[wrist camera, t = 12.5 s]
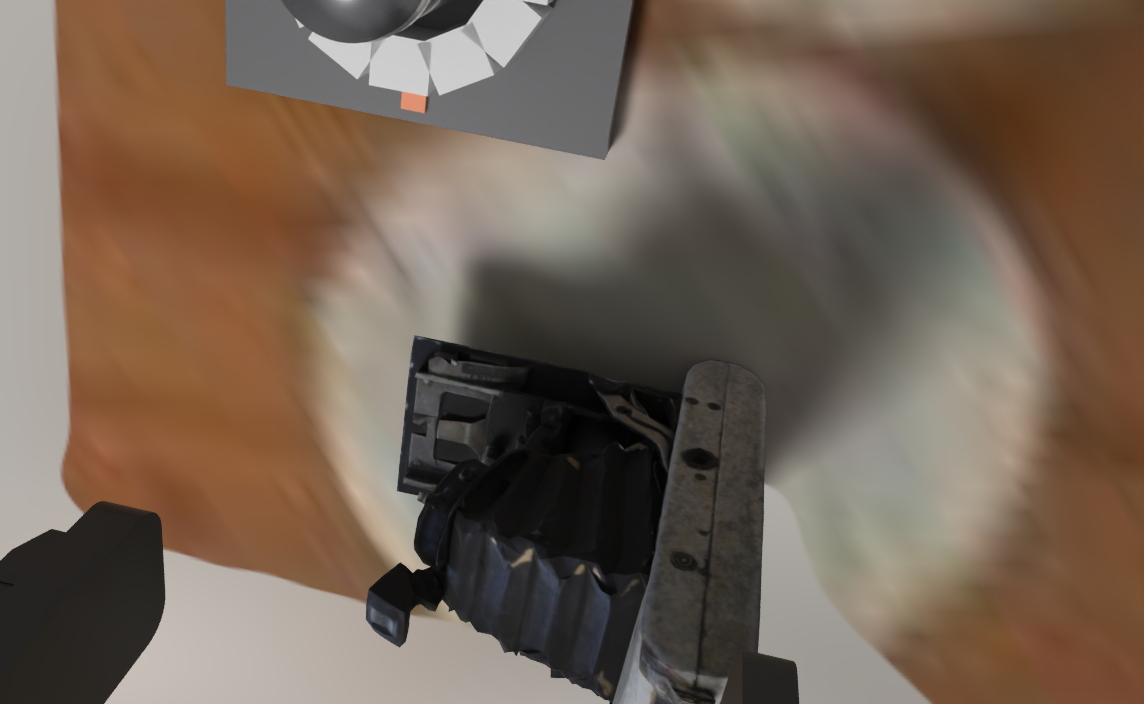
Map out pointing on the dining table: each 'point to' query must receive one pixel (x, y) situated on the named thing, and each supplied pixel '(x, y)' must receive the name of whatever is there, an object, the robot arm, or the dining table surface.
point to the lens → (359, 17)
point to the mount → (453, 67)
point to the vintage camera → (585, 518)
